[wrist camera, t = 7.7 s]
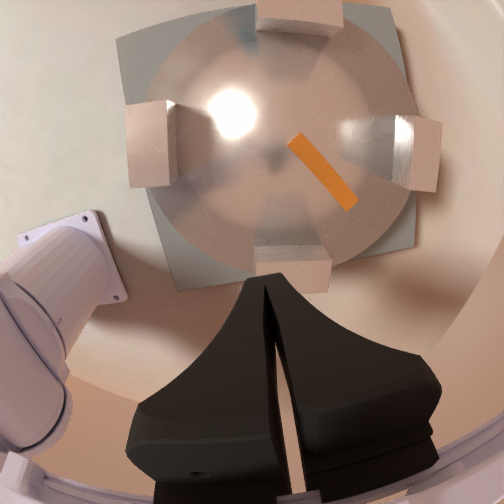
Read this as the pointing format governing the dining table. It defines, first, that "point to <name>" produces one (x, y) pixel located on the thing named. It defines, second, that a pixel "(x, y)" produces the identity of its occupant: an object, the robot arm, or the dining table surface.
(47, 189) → the dining table surface
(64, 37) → the dining table surface
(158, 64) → the base plate
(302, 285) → the lugged metal disc
